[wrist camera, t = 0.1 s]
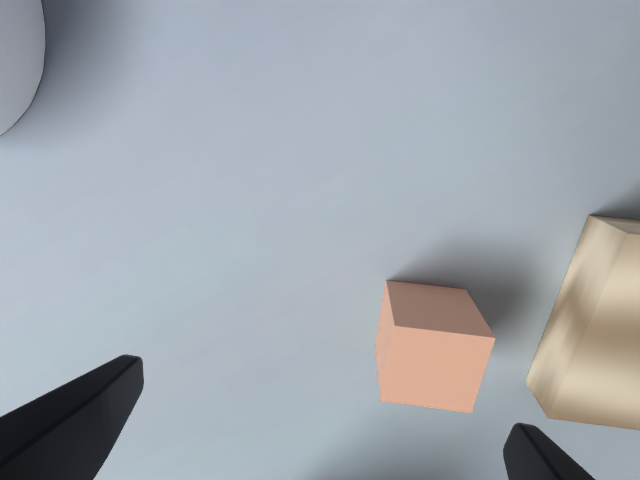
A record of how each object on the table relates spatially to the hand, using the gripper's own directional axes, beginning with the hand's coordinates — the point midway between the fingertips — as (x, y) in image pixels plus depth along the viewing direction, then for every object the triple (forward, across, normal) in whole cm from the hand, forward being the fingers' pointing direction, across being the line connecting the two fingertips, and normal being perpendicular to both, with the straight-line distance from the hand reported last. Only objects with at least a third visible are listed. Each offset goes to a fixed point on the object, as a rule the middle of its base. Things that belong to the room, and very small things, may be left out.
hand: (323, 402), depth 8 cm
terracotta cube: (+14, -6, +6) cm, 16 cm away
